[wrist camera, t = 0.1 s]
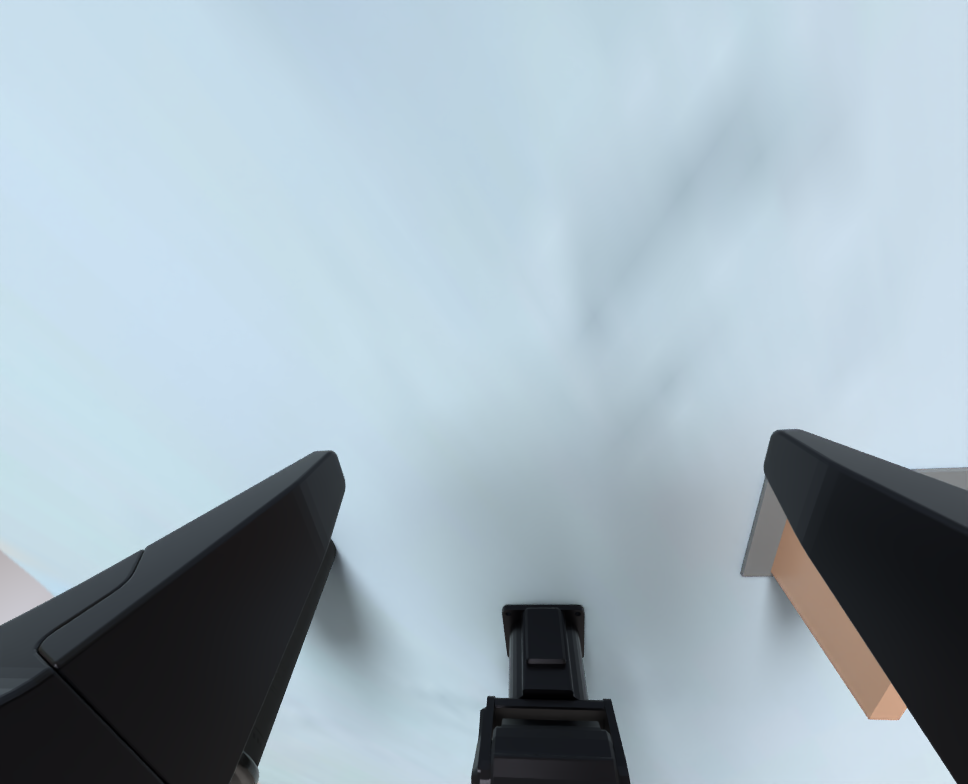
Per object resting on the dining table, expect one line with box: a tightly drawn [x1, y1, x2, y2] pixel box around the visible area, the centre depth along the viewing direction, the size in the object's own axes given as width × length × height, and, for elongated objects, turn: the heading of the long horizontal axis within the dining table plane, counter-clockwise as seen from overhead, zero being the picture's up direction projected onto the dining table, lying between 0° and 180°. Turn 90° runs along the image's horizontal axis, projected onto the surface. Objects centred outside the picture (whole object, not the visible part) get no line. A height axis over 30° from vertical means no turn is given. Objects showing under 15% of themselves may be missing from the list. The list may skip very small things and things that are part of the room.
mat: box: [741, 468, 968, 577], centre depth 27 cm, size 9×13×1 cm
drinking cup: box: [229, 539, 336, 784], centre depth 23 cm, size 8×8×20 cm
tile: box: [771, 519, 907, 720], centre depth 23 cm, size 8×2×9 cm, turn 6°
